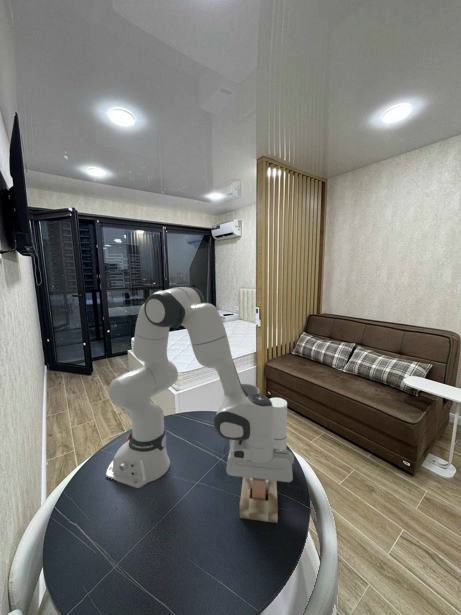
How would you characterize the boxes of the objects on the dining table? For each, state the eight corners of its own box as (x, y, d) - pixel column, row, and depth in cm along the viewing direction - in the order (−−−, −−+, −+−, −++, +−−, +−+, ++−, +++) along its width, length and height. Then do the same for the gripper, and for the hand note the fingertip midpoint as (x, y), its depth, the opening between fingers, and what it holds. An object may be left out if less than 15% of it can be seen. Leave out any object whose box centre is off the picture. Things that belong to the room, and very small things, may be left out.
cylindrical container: (286, 473, 87) (287, 408, 85) (266, 470, 89) (266, 406, 86) (285, 459, 94) (286, 398, 91) (267, 456, 96) (267, 396, 93)
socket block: (239, 517, 71) (239, 505, 71) (243, 486, 82) (243, 475, 82) (277, 523, 70) (277, 510, 69) (276, 490, 80) (276, 479, 80)
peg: (252, 504, 74) (252, 480, 73) (252, 492, 78) (253, 470, 77) (265, 505, 73) (265, 481, 72) (265, 494, 77) (265, 471, 76)
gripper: (293, 443, 75) (292, 484, 77) (228, 437, 78) (228, 476, 80) (295, 458, 69) (294, 502, 71) (225, 451, 72) (225, 493, 74)
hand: (258, 488), depth 75 cm, fingers closed on peg, 4 cm apart
